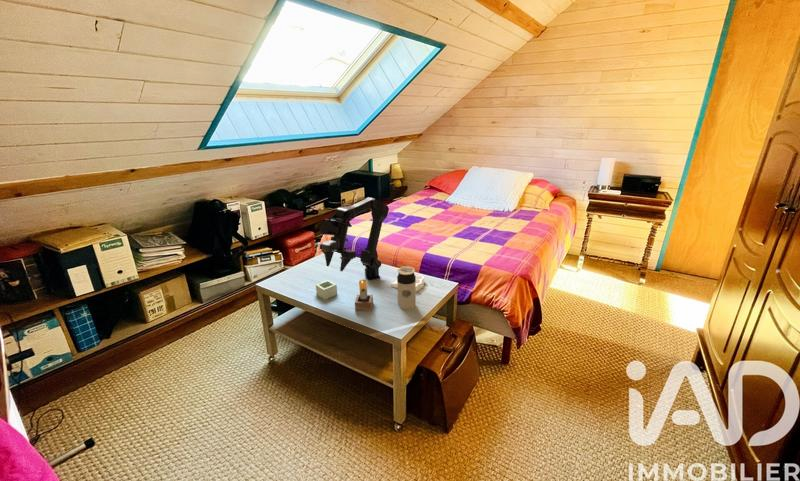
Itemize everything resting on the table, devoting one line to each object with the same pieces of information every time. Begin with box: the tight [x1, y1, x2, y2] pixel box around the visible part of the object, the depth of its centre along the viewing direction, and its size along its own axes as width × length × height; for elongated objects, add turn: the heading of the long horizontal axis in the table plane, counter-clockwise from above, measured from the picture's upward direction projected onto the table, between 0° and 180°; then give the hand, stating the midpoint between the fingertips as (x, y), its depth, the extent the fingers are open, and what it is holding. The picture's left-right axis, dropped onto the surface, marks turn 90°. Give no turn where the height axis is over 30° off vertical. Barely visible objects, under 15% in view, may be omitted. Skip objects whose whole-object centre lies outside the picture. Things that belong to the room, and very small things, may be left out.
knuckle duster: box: [389, 274, 425, 293], centre depth 179 cm, size 3×18×15 cm
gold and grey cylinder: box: [358, 279, 368, 302], centre depth 159 cm, size 3×3×12 cm
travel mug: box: [396, 266, 417, 310], centre depth 159 cm, size 8×8×18 cm
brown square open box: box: [354, 294, 374, 312], centre depth 161 cm, size 7×7×5 cm
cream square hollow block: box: [315, 279, 338, 300], centre depth 172 cm, size 7×7×6 cm
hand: (334, 268), depth 167 cm, fingers open, 9 cm apart
